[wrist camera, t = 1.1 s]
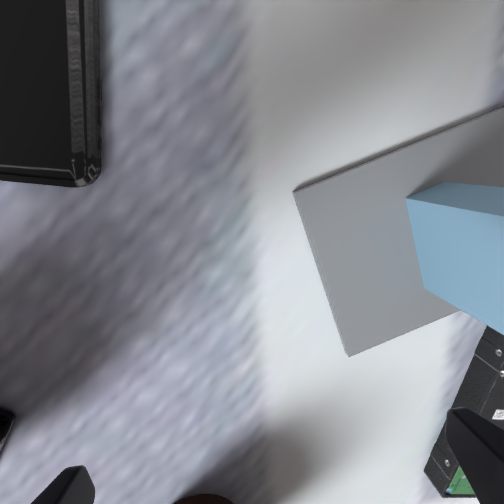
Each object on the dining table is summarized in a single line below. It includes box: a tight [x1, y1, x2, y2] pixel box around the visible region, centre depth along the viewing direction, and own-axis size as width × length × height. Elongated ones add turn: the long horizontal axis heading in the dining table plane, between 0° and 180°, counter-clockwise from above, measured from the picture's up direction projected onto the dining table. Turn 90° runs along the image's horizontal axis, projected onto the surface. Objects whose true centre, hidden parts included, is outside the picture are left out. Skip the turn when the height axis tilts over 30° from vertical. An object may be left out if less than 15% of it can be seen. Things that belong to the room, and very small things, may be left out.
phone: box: [0, 0, 101, 187], centre depth 14 cm, size 8×1×15 cm
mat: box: [293, 107, 504, 357], centre depth 20 cm, size 20×12×1 cm, turn 111°
